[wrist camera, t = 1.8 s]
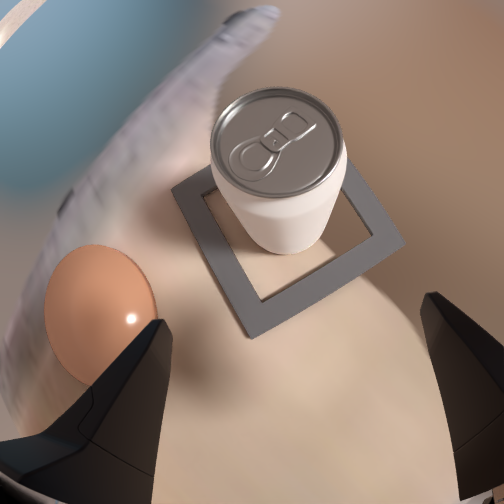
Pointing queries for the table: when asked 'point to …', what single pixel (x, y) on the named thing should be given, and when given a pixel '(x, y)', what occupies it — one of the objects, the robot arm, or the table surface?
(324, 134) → the can
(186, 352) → the table surface
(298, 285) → the gray square frame
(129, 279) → the plate
